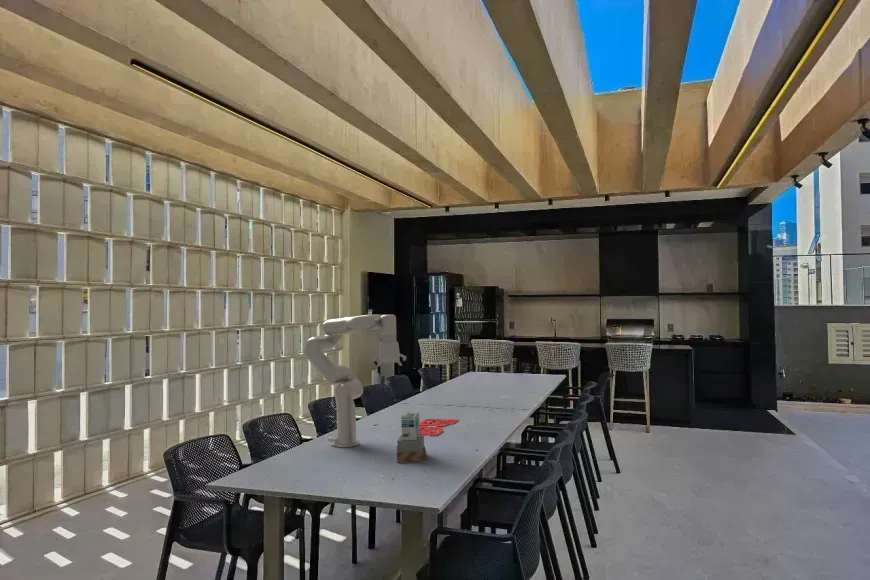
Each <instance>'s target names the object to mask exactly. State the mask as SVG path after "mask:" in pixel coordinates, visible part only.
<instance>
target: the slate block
mask: <svg viewBox="0 0 870 580" xmlns="http://www.w3.org/2000/svg"><path fill="white" fill-rule="evenodd" d="M396 446H398V452H422V451H423V448H424V446H425V435H420V436H419V437H418V438H417V439H416V440H402V434H400V436H399V437H398V439H397V445H396Z"/></svg>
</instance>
